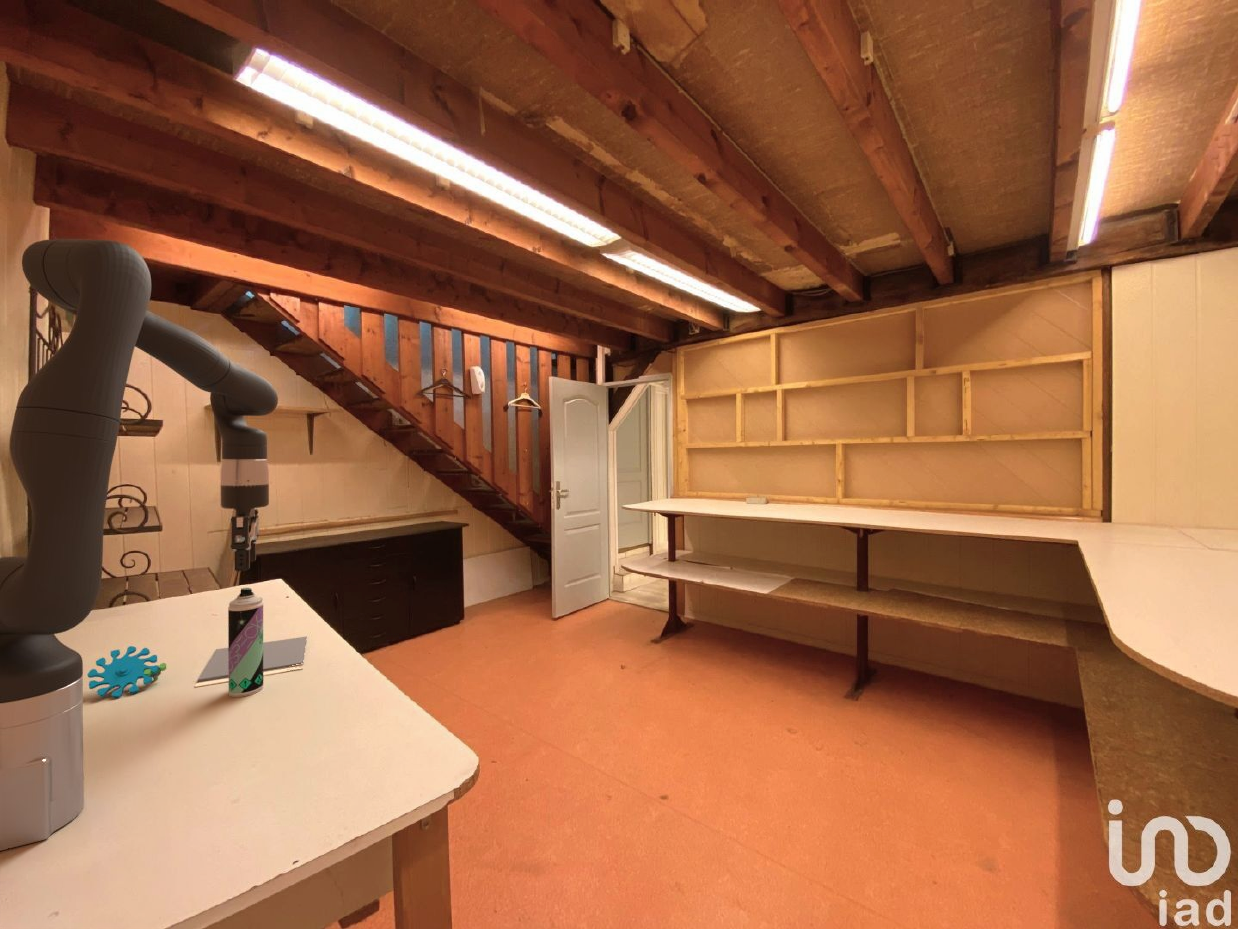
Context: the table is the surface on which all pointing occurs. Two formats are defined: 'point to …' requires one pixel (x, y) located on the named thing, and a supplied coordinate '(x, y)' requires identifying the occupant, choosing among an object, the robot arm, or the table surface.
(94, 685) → the gear
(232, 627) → the spray can
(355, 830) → the table surface
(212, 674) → the gray flat panel
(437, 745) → the table surface
